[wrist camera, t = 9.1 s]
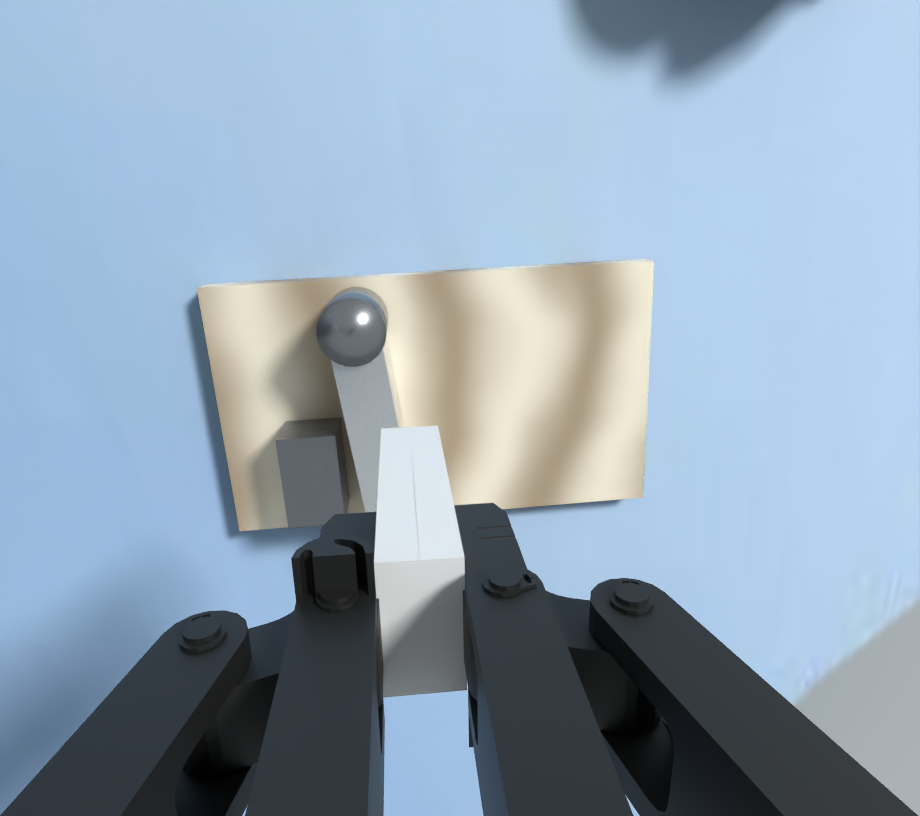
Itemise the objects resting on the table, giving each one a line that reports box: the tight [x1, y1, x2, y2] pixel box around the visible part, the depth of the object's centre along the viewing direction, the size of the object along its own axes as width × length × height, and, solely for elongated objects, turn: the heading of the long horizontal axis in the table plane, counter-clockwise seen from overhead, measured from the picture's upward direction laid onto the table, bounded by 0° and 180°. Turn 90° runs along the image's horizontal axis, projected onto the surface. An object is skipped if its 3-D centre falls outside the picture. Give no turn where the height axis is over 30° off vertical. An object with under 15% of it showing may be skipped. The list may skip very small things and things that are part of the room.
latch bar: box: [316, 287, 403, 512], centre depth 33 cm, size 13×3×4 cm, turn 9°
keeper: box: [275, 417, 350, 528], centre depth 34 cm, size 3×5×3 cm, turn 3°
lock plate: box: [197, 259, 654, 531], centre depth 36 cm, size 24×14×2 cm, turn 93°
